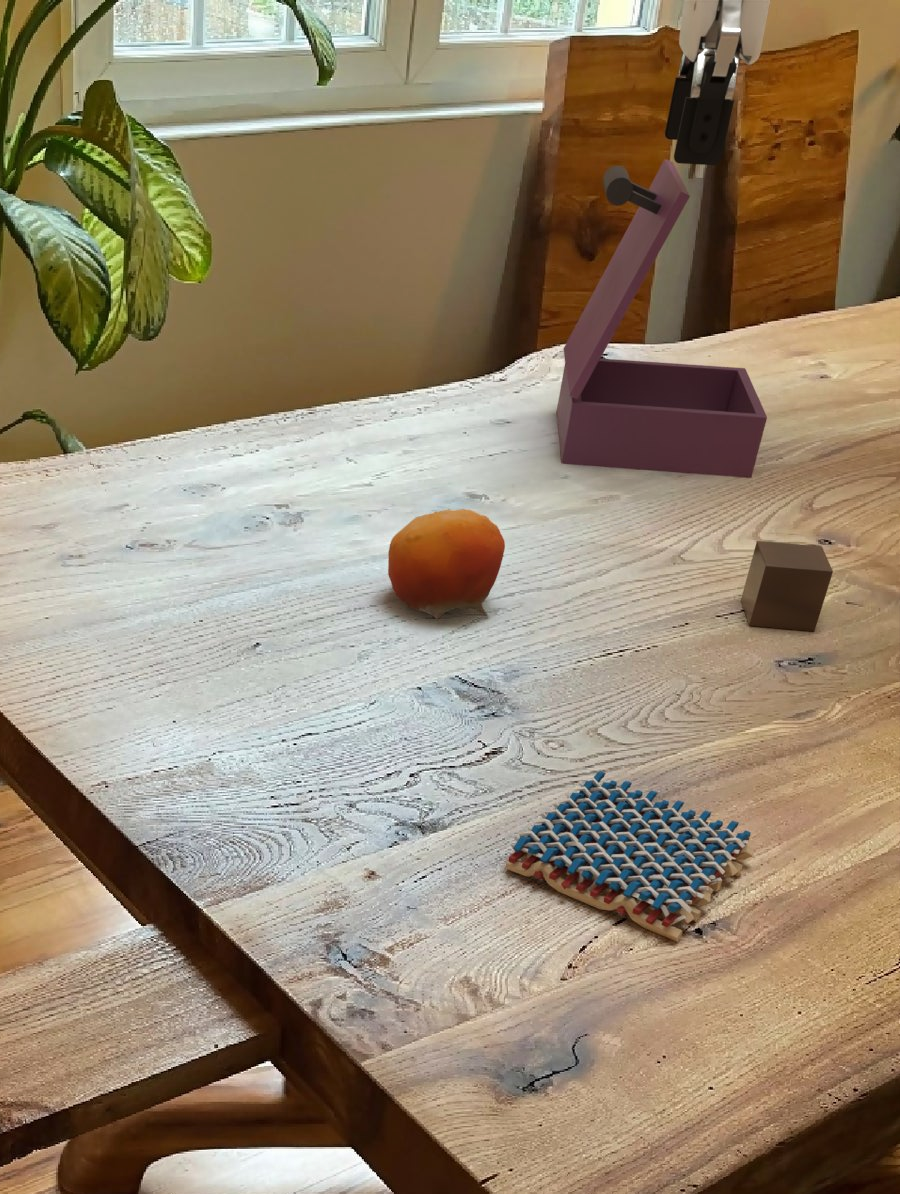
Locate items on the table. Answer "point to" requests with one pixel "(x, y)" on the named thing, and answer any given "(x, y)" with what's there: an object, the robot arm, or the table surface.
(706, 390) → the box
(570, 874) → the woven mat
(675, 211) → the lid
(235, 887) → the table surface
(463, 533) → the fruit
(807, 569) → the block
